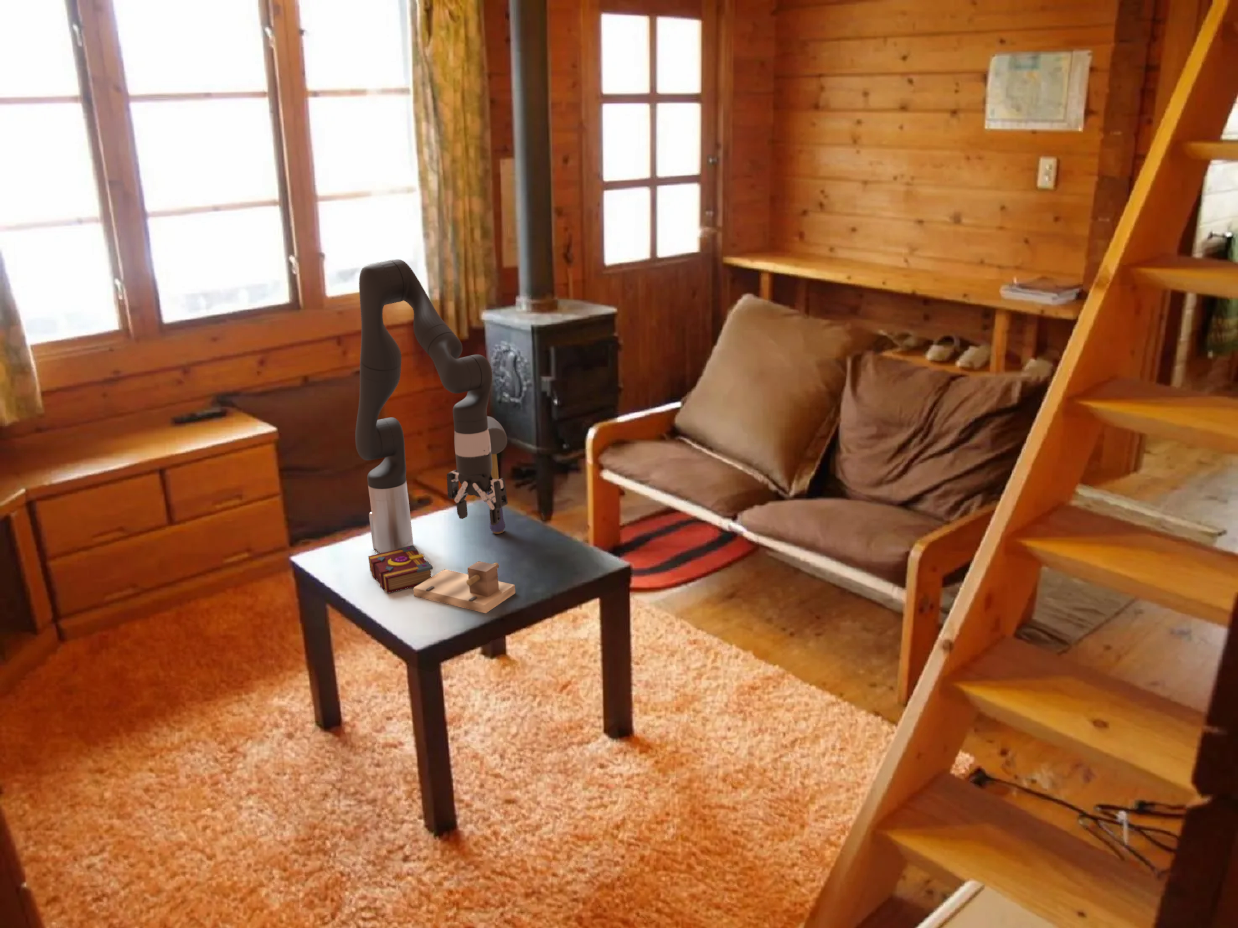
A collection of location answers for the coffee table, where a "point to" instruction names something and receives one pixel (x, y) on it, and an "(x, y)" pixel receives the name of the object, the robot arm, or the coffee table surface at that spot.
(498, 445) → the rubber mallet
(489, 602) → the board
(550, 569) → the coffee table surface
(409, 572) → the decorative book
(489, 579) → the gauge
